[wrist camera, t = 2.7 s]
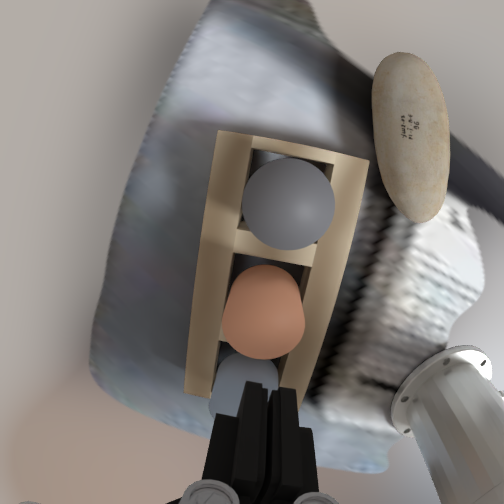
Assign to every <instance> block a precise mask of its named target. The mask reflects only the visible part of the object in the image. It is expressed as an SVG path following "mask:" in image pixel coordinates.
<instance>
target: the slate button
mask: <svg viewBox="0 0 504 504" xmlns="http://www.w3.org/2000/svg"><path fill="white" fill-rule="evenodd" d="M246 380H247V381H252V382H257V383H262V384H263V387H262V388H267V389H268V400H269V397H270V394H271V391H272V390H278V371H277V368H276V367H275V365H274V364H273V362H272V361H271V360H269V359H266V360H264V359H254V358H250V357H247V356H245V355H243V354H241V353H239V352H238V353H235V354H232V355H230V356H228V357H226V358H225V359H224V360H223V361H222V362H221V363H220V365H219V367H218V371H217V375H216V379H215V382H214V386H213V390H212V394H211V398H210V402H209V411H210V413H211V415H212V417H213V418H214V420H215V416H216V413H219V414H224V415H229V416H234V417H236V416H237V412H238V408H239V405H240V401H241V397H242V393H243V390H244V386H245V382H246Z"/></svg>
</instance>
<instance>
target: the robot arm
mask: <svg viewBox="0 0 504 504" xmlns="http://www.w3.org/2000/svg"><path fill="white" fill-rule="evenodd" d="M491 376H492V366H491V362H490V360H489V358H488V357H487V356H486V354H485V353H484V352H483V351H482V350H480V349H479V348H477V347H474V346H468V345H462V346H455V347H452V348H449V349H446V350H444V351H442V352H439V353H437V354H435V355H434V356H432V357H431V358H429V359H428V360H426V361H424V362H423V363H422V364H421V365H420V366H418V367H417V368H416V369H415V370H414V371H413V372H412V373H411V374H410V375H409V376H408V377H407V378H406V379H405V381H404V382H403V383H402V385H401V386H400V387H399V389H398V391H397V393H396V394H395V396H394V399H393V402H392V405H391V412H390V413H391V419H392V422H393V425H394V427H395V428H396V430H397V431H398V432H399V433H400V434H401V435H403V436H406V437H409V438H415V439H416V441H417V444H418V446H419V448H420V451H421V453H422V455H423V458H424V461H425V463H426V466H427V468H428V471H429V473H430V475H431V478H432V481H433V483H434V486H435V488H436V491H437V493H438V496H439V499H440V502H441V504H504V391H497V389H496V388H495V387H494V386H493V384H492V383H491V382H490V381H491ZM262 387H263V384H262V383H257V382H252V381H247V380H246V382H245V386H244V390H243V393H242V397H241V401H240V405H239V408H238V412H237V416H236V417H234V416H229V415H224V414H219V413H216V416H215V421H214V425H213V430H212V434H211V439H210V444H209V448H208V453H207V457H206V462H205V466H204V471H203V475H202V480H200V481H196V482H194V483H193V484H191V485H189V486H188V488H187V489H186V490H185V492H184V494H183V496H182V497H181V498H179V499H176V500H174V501H171V502H169V503H167V504H339V503H338V502H337V501H336V500H335V499H334V498H332V497H331V496H329V495H327V494H324V493H321V492H319V489H318V488H319V487H318V478H317V468H316V459H315V450H314V441H313V433H312V429H311V428H305V427H299V418H298V406H297V394H296V389H292V388H286V387H279V388H278V390H272V391H271V394H270V397H269V400H268V389H267V388H262ZM20 504H39V503H36V502H29V501H27V502H21V503H20Z"/></svg>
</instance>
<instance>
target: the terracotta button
mask: <svg viewBox="0 0 504 504" xmlns="http://www.w3.org/2000/svg"><path fill="white" fill-rule="evenodd" d="M222 329H223V333H224V336H225V338H226V340H227V341H228V343H229V344H230V345H231V346H232V347H233V348H234V349H235V350H236V351H238V352H239V353H241V354H243V355H245V356H247V357H250V358H254V359H264V360H266V359H274V358H277V357H280V356H283V355H285V354H287V353H288V352H290V351H291V350H292V349H294V348H295V347H296V346H297V344H298V343H299V342H300V340H301V338H302V336H303V333H304V329H305V317H304V312H303V307H302V302H301V297H300V292H299V288H298V285H297V283H296V281H295V280H294V278H293V277H292V276H291V275H290V274H289V273H288V272H286V271H285V270H283V269H281V268H279V267H277V266H273V265H256V266H253V267H250V268H248V269H246V270H244V271H243V272H242V273H241V274H240V275H239V276H238V277H237V278H236V279H235V281H234V283H233V285H232V287H231V290H230V293H229V297H228V300H227V303H226V306H225V309H224V313H223V317H222Z"/></svg>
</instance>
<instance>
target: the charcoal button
mask: <svg viewBox="0 0 504 504" xmlns="http://www.w3.org/2000/svg"><path fill="white" fill-rule="evenodd" d="M242 211H243V216H244V219H245V222H246V224H247V226H248V228H249V229H250V231H251V232H252V233H253V235H254V236H255V237H256V238H257V239H258V240H260V241H261V242H263V243H264V244H266V245H268V246H270V247H272V248H275V249H279V250H298V249H302V248H305V247H307V246H309V245H311V244H313V243H315V242H316V241H317V240H319V239H320V238H321V237H322V236H323V235H324V234H325V232H326V231H327V229H328V228H329V226H330V224H331V222H332V219H333V216H334V211H335V197H334V193H333V189H332V187H331V184H330V183H329V181H328V179H327V178H326V176H325V175H324V174H323V173H322V172H321V171H320V170H319V169H318V168H317V167H315V166H314V165H312V164H310V163H308V162H306V161H303V160H300V159H294V158H283V159H277V160H274V161H271V162H269V163H267V164H265V165H263V166H262V167H260V168H259V169H258V170H257V171H256V172H255V173H254V174H253V175H252V176H251V178H250V179H249V181H248V182H247V184H246V187H245V189H244V192H243V197H242Z"/></svg>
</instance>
